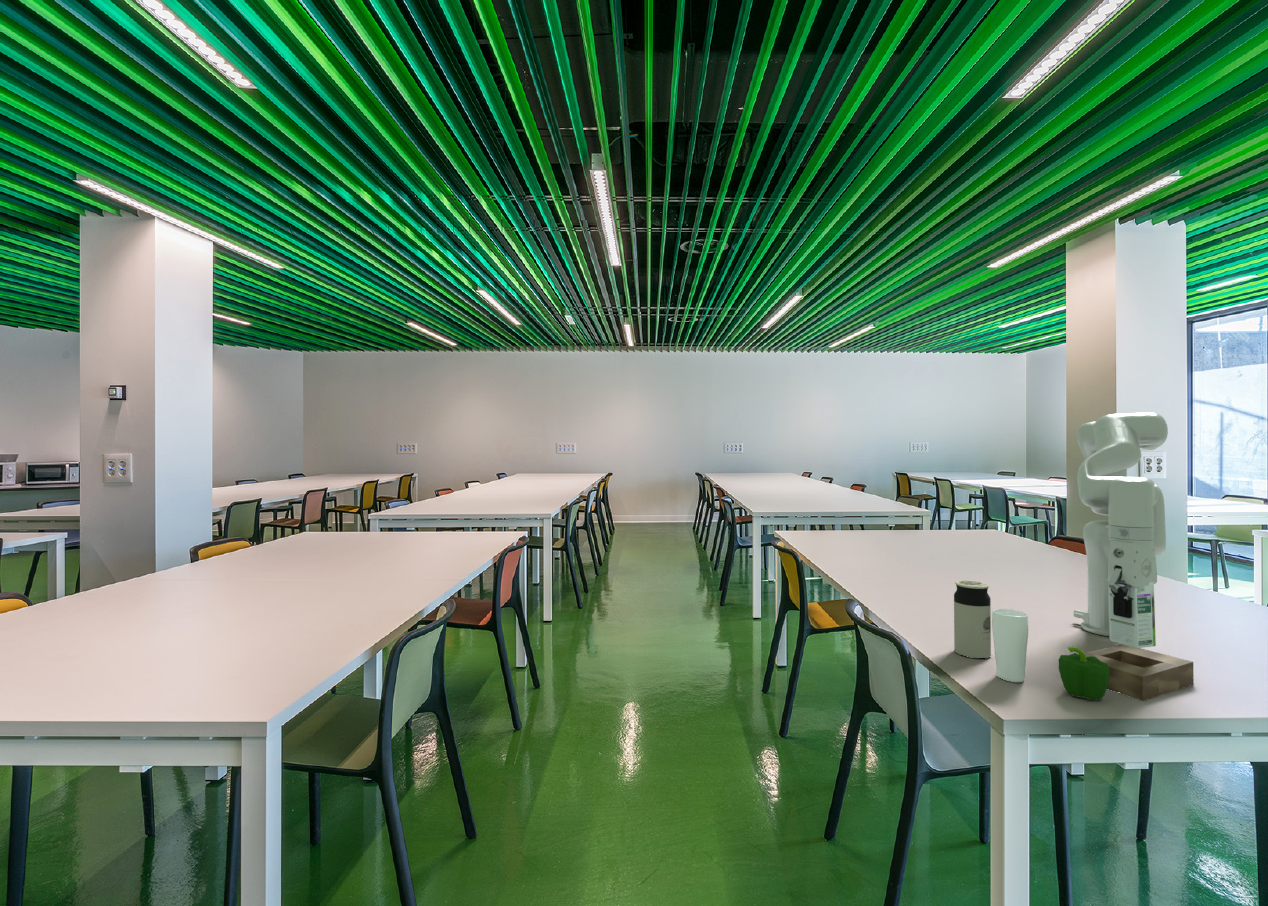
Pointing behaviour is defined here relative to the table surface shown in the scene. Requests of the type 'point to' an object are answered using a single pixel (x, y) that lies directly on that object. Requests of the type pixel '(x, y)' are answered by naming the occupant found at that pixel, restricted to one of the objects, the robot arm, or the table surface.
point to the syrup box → (1134, 619)
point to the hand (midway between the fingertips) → (1131, 614)
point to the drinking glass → (1010, 643)
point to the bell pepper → (1083, 675)
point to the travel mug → (972, 619)
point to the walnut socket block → (1144, 671)
